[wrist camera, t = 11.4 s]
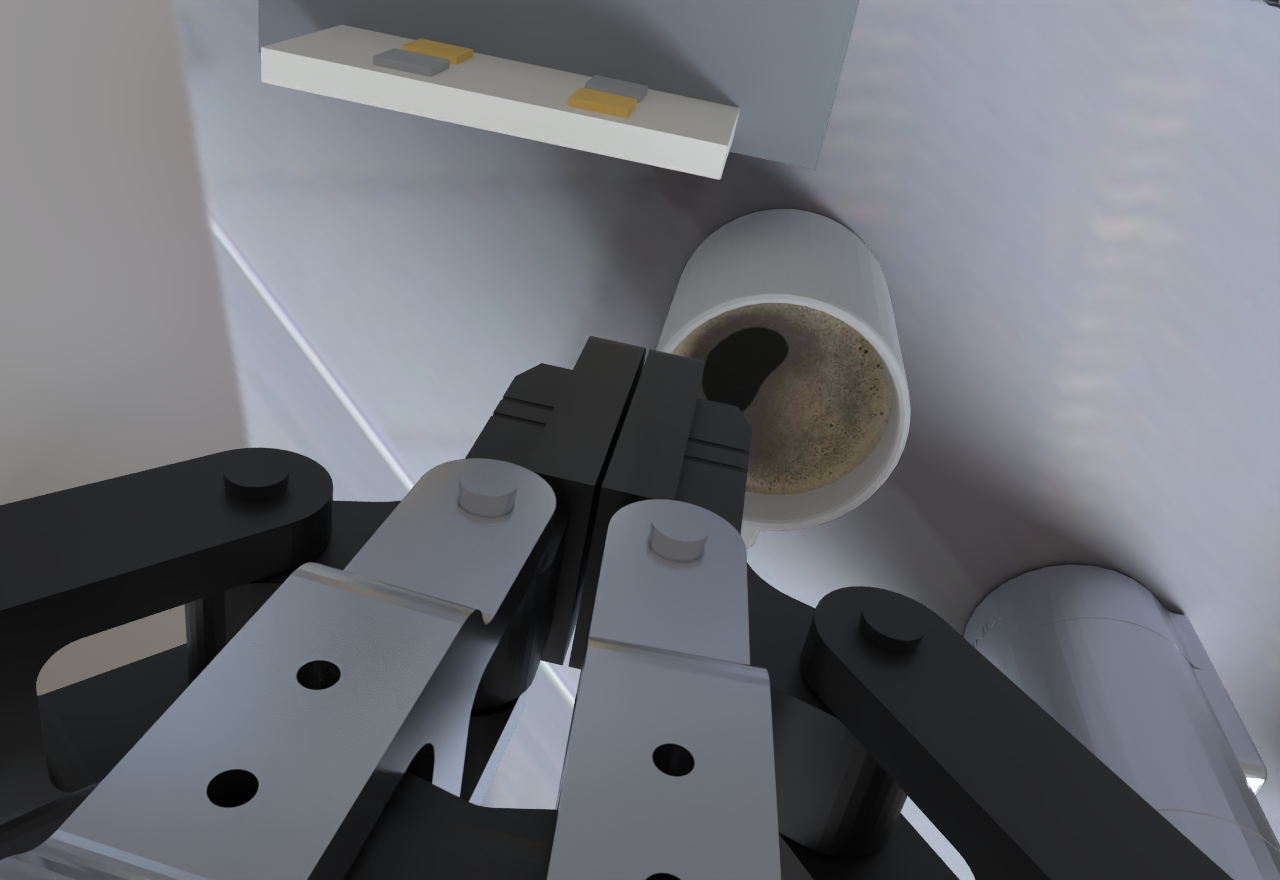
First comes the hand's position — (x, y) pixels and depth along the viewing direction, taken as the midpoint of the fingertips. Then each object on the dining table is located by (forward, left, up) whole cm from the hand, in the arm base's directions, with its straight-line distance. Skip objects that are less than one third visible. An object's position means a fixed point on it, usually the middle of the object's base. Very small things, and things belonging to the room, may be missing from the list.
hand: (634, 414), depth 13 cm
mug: (-3, +10, -29) cm, 31 cm away
